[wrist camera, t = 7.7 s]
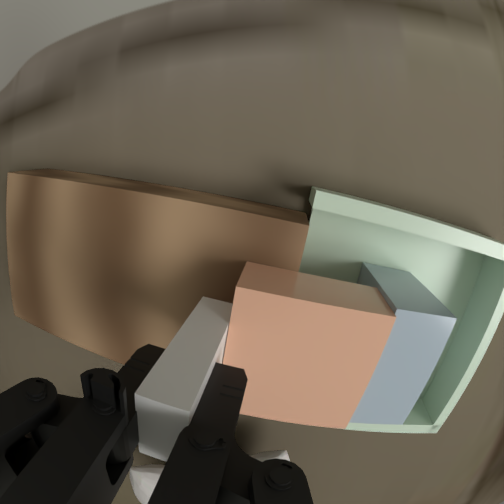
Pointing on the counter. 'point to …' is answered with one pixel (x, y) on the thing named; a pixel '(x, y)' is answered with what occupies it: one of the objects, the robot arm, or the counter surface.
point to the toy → (149, 474)
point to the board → (132, 254)
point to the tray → (427, 272)
